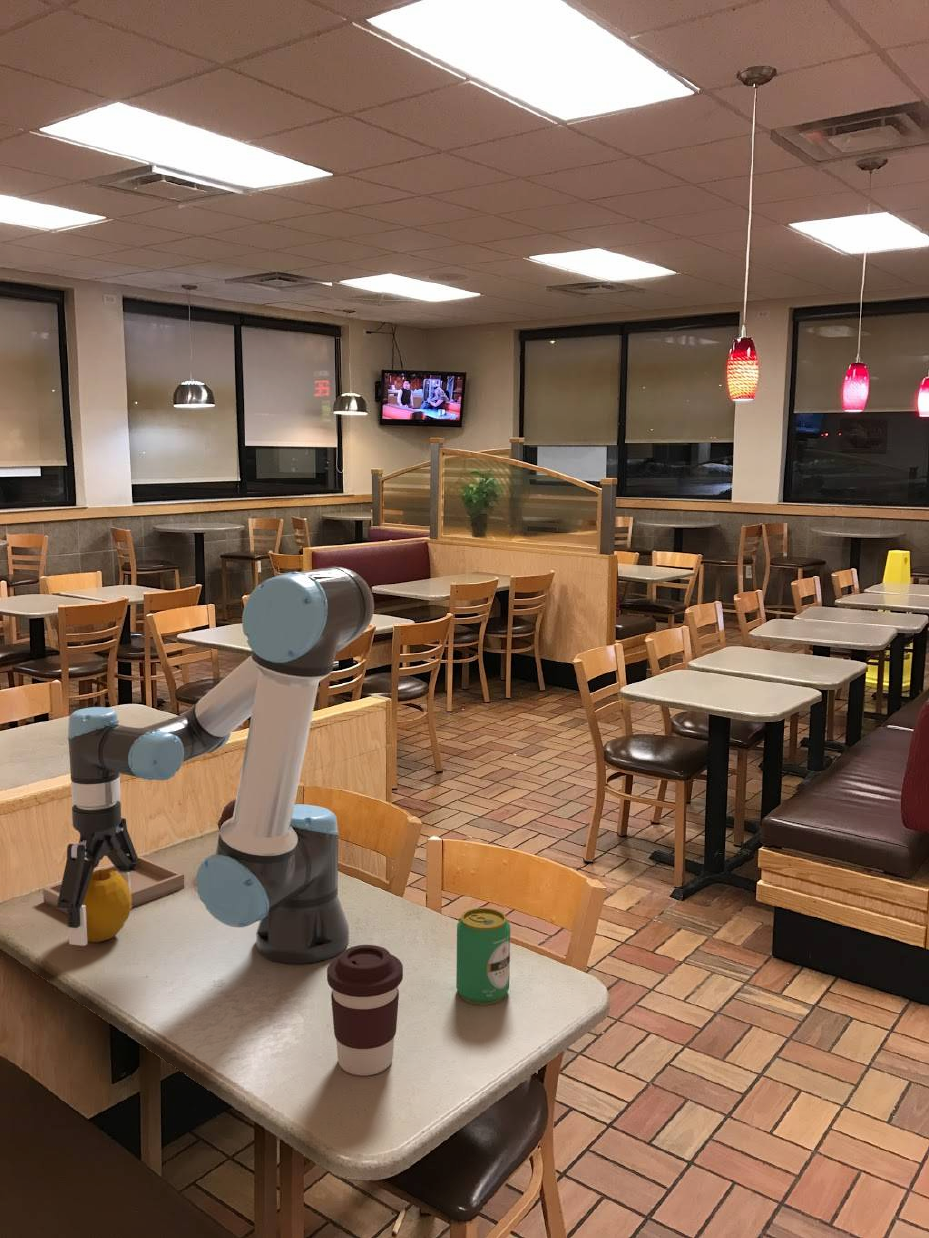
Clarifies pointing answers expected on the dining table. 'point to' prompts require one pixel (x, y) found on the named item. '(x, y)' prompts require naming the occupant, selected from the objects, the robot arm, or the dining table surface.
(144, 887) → the tray
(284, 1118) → the dining table surface
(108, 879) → the apple
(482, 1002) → the beverage can
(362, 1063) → the coffee cup
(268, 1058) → the dining table surface
